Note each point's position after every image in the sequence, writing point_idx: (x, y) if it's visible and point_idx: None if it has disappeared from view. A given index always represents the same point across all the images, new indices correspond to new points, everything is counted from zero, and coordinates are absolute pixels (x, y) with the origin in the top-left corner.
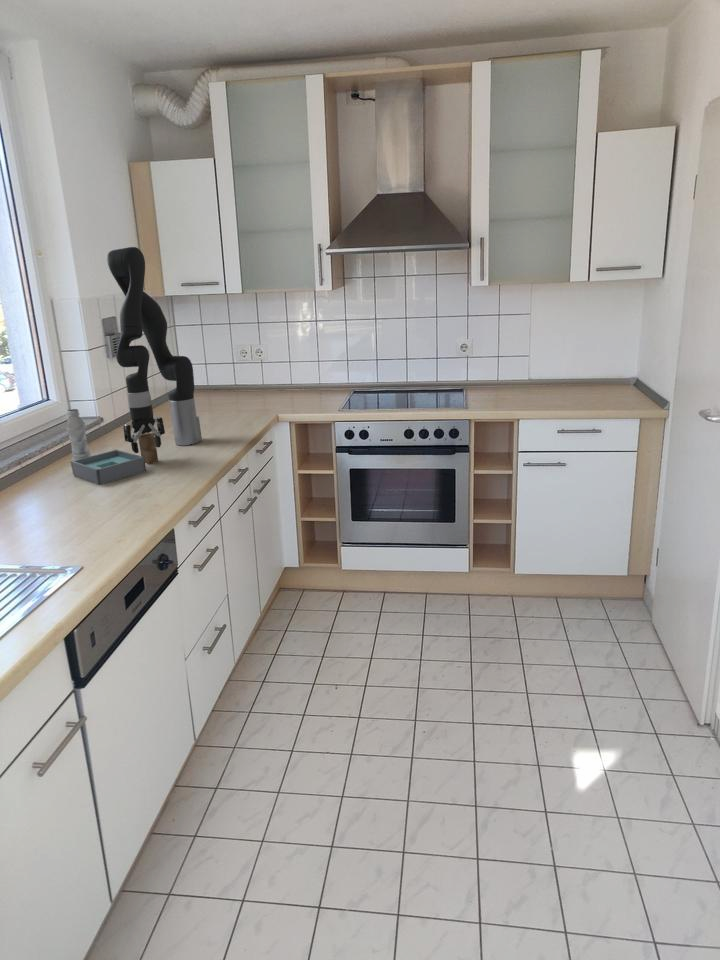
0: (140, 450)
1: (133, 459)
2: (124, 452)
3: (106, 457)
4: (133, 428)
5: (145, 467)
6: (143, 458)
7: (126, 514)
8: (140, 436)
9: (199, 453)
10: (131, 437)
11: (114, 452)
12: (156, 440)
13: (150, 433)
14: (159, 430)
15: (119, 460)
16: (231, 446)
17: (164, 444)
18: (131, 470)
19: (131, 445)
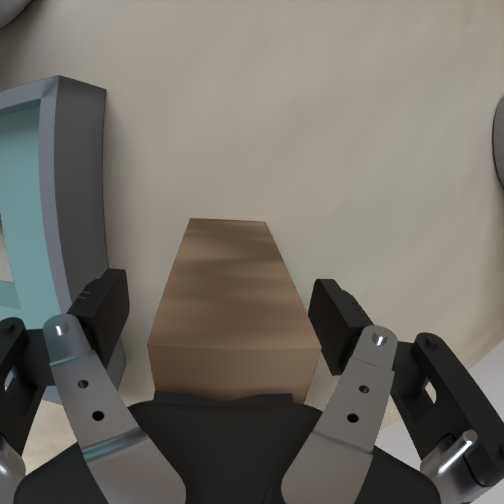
0: (177, 253)
1: (59, 400)
2: (47, 232)
3: (1, 114)
4: (52, 464)
5: (121, 376)
6: None
7: (36, 465)
8: (157, 384)
9: (423, 331)
10: (50, 357)
11: (36, 101)
12: (328, 336)
13: (298, 399)
14: (426, 365)
15: (28, 237)
16: (488, 338)
17: (477, 46)
18: None
19: (70, 308)
